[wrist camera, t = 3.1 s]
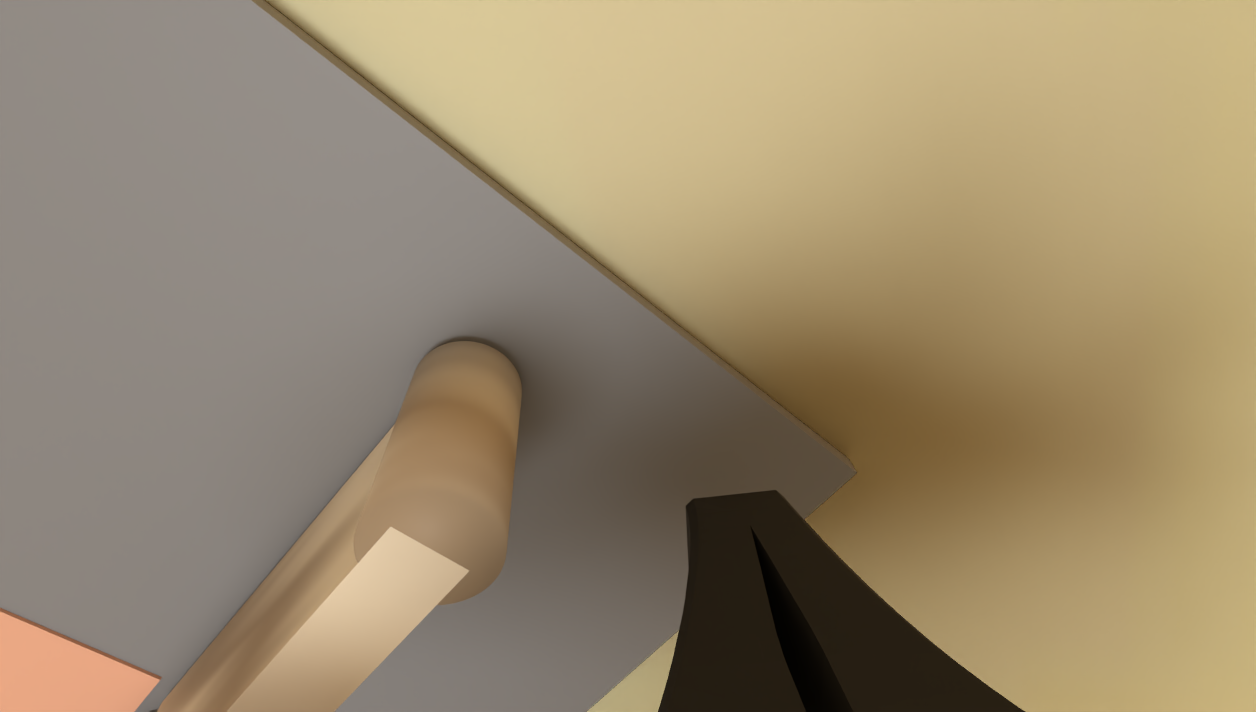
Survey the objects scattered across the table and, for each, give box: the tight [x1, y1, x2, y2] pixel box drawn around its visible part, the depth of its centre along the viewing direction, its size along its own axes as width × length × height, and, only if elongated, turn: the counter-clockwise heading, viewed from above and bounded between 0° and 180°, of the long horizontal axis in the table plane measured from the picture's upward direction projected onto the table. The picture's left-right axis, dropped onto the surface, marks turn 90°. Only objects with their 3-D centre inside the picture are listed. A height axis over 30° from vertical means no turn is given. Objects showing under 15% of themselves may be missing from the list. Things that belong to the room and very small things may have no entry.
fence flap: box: [157, 341, 522, 712], centre depth 11 cm, size 9×2×4 cm, turn 139°
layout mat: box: [0, 0, 857, 712], centre depth 13 cm, size 18×24×1 cm
